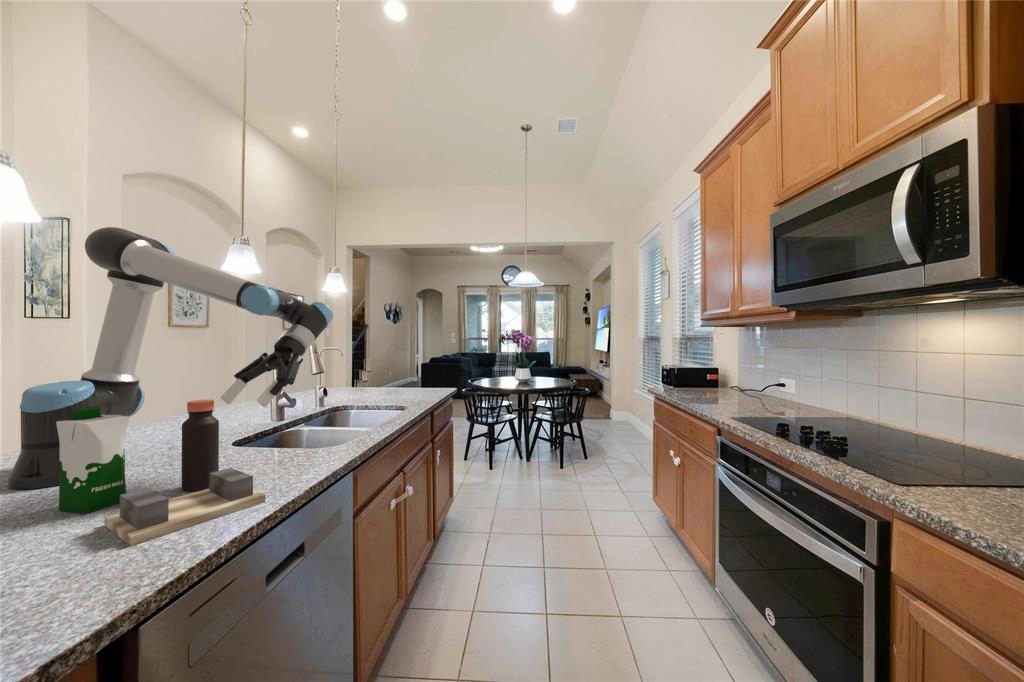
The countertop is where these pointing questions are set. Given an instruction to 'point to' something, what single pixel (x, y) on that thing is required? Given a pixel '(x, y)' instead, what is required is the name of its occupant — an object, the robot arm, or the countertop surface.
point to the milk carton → (91, 460)
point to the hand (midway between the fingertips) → (242, 402)
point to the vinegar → (199, 445)
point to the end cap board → (182, 507)
